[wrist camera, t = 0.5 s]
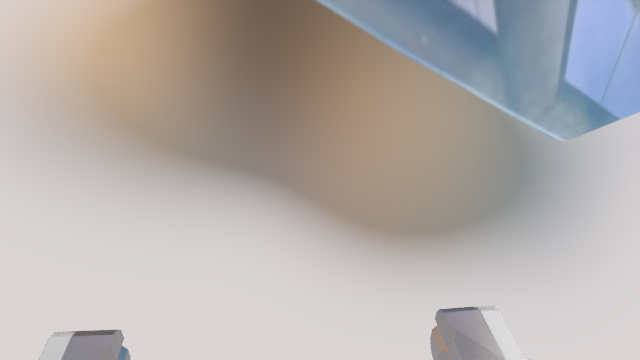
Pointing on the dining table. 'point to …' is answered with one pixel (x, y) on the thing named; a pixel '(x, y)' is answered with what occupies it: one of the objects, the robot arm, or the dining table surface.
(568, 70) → the dining table surface
